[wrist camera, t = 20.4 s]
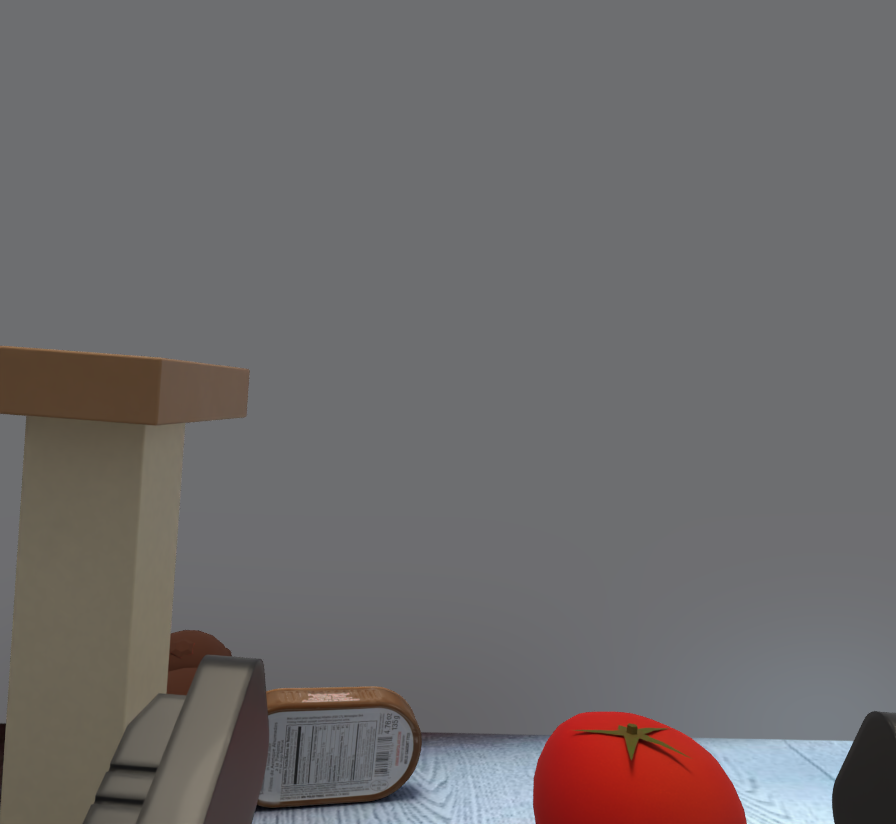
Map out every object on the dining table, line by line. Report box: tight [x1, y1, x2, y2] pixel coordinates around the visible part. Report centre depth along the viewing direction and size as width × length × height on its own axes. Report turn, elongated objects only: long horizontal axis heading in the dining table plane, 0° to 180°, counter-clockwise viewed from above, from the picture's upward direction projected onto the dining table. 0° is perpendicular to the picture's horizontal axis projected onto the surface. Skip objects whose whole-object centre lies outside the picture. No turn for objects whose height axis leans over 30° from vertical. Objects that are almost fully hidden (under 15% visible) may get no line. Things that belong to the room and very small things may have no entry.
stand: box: [0, 346, 250, 824], centre depth 30 cm, size 10×8×32 cm
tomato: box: [533, 712, 747, 824], centre depth 54 cm, size 12×14×11 cm
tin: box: [257, 686, 422, 808], centre depth 64 cm, size 15×3×8 cm, turn 108°
